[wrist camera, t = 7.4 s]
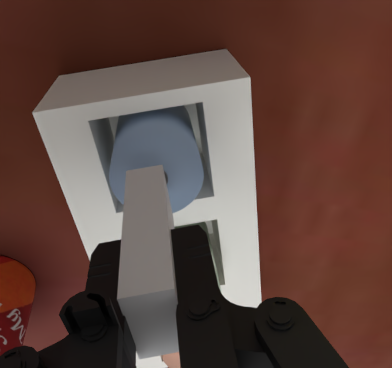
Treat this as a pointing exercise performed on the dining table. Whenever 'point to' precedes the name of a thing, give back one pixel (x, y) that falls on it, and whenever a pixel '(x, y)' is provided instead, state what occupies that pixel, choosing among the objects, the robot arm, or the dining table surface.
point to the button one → (158, 152)
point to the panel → (205, 138)
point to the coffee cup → (14, 302)
